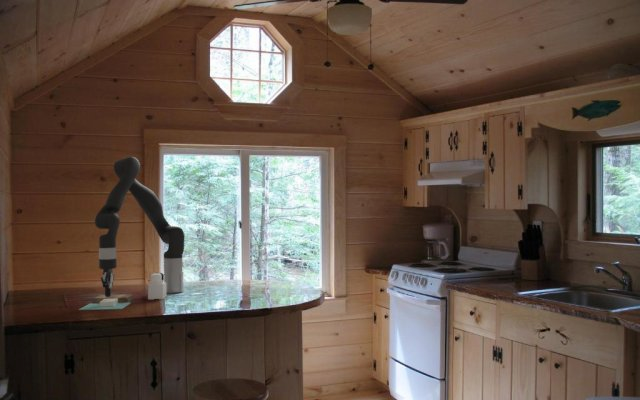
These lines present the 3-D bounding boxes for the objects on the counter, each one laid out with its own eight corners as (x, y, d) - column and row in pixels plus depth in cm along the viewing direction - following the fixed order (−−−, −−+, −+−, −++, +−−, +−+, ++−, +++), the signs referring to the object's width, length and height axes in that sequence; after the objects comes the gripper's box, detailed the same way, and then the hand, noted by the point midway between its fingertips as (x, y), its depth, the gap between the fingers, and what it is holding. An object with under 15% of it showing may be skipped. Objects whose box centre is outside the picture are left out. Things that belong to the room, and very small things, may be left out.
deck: (132, 299, 294) (132, 294, 294) (127, 303, 284) (127, 297, 284) (100, 300, 294) (100, 294, 294) (93, 303, 284) (93, 298, 284)
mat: (130, 303, 284) (130, 302, 284) (121, 309, 268) (121, 308, 268) (90, 304, 283) (90, 303, 283) (78, 310, 267) (78, 309, 267)
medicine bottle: (151, 297, 301) (151, 272, 301) (166, 297, 301) (166, 272, 301) (147, 299, 294) (147, 274, 294) (163, 299, 294) (162, 273, 294)
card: (104, 303, 283) (104, 298, 283) (118, 302, 284) (117, 298, 284) (99, 306, 274) (99, 301, 274) (113, 306, 275) (113, 301, 275)
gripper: (112, 259, 274) (112, 298, 274) (120, 256, 287) (120, 294, 287) (94, 259, 274) (95, 299, 274) (103, 256, 287) (103, 294, 287)
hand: (108, 296), depth 280 cm, fingers closed
